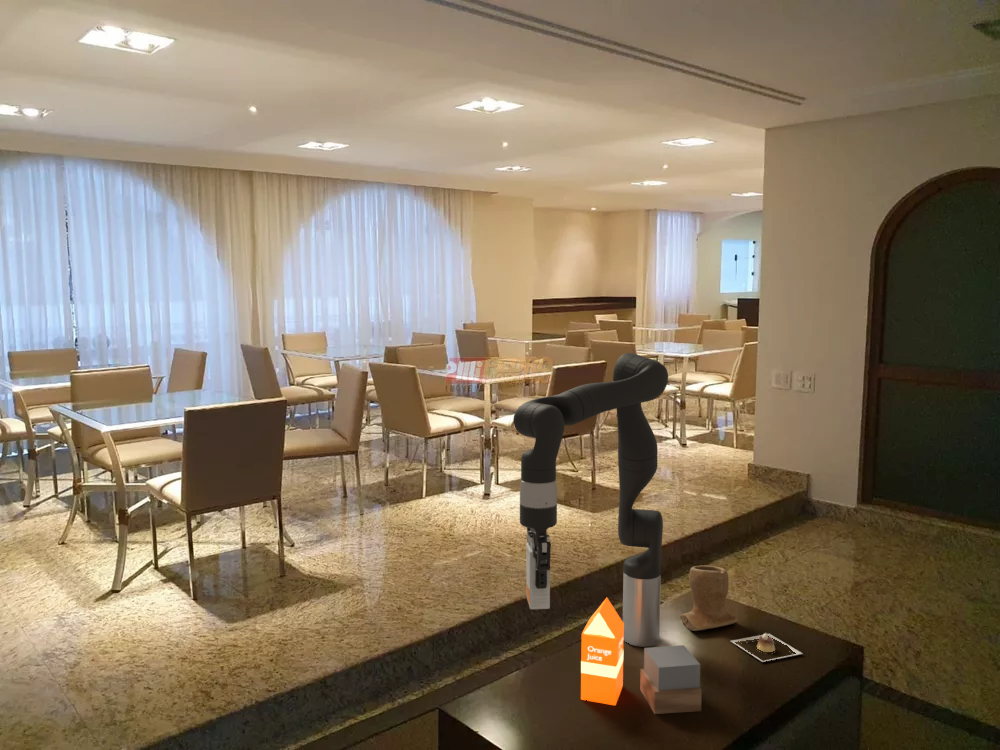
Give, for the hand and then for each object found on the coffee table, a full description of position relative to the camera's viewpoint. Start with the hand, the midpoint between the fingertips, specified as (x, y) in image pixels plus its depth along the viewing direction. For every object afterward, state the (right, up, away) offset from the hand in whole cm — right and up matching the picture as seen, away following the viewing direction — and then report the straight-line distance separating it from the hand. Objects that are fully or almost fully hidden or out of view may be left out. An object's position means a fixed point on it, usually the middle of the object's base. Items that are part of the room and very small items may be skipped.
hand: (538, 581), depth 156 cm
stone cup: (+47, -24, +46) cm, 70 cm away
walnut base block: (+29, -28, +8) cm, 40 cm away
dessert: (+57, -26, +31) cm, 70 cm away
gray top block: (+29, -23, +7) cm, 37 cm away
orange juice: (+14, -27, +11) cm, 33 cm away
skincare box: (0, -5, 0) cm, 5 cm away
